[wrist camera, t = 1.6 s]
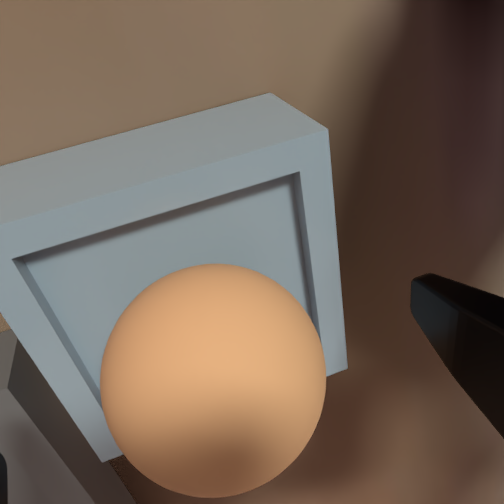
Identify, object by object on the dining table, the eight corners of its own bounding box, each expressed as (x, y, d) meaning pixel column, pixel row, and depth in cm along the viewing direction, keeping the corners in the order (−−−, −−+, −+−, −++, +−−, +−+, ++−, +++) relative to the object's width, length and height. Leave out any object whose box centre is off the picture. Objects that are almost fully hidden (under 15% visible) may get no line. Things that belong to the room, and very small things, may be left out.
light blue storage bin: (270, 92, 12) (328, 129, 9) (301, 297, 16) (347, 368, 13) (-12, 169, 11) (-50, 238, 8) (100, 368, 15) (102, 462, 12)
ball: (265, 200, 10) (365, 328, 6) (290, 339, 12) (372, 488, 9) (65, 262, 9) (49, 445, 6) (135, 396, 12) (154, 583, 8)
